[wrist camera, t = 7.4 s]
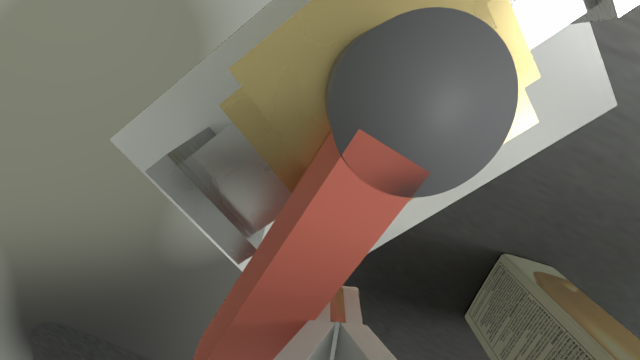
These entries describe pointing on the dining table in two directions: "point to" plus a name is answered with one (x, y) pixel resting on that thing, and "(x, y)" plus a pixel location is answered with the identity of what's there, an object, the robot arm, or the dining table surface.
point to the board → (554, 123)
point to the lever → (372, 167)
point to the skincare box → (543, 317)
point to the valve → (321, 106)
